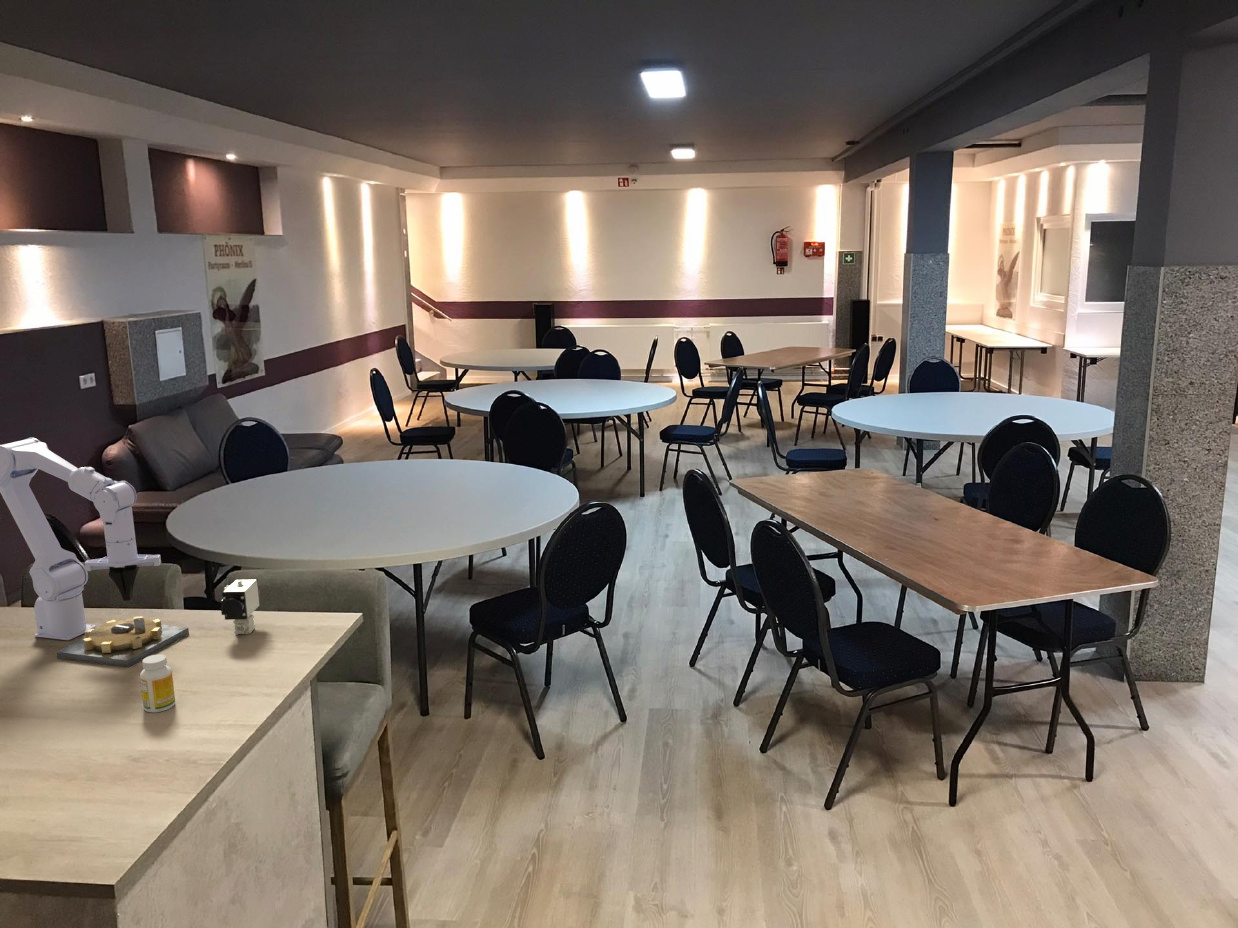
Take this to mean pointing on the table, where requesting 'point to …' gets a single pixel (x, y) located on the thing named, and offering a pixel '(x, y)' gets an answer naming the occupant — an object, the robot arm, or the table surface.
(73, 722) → the table surface
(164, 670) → the supplement bottle
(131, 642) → the blocky toothed spur gear
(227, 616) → the pneumatic valve
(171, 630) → the cap plate
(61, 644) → the table surface
